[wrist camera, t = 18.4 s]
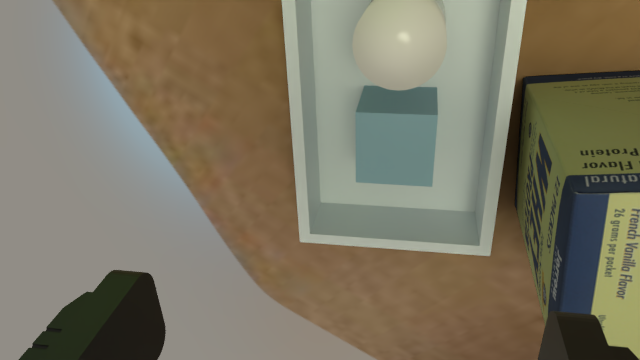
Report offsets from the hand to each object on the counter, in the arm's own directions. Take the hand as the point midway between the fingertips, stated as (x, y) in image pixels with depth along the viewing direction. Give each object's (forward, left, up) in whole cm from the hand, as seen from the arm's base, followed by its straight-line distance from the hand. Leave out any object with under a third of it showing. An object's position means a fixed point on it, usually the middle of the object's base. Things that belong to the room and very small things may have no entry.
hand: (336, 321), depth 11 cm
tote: (-6, 0, -28) cm, 29 cm away
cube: (-7, 0, -28) cm, 28 cm away
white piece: (0, 0, -27) cm, 27 cm away
